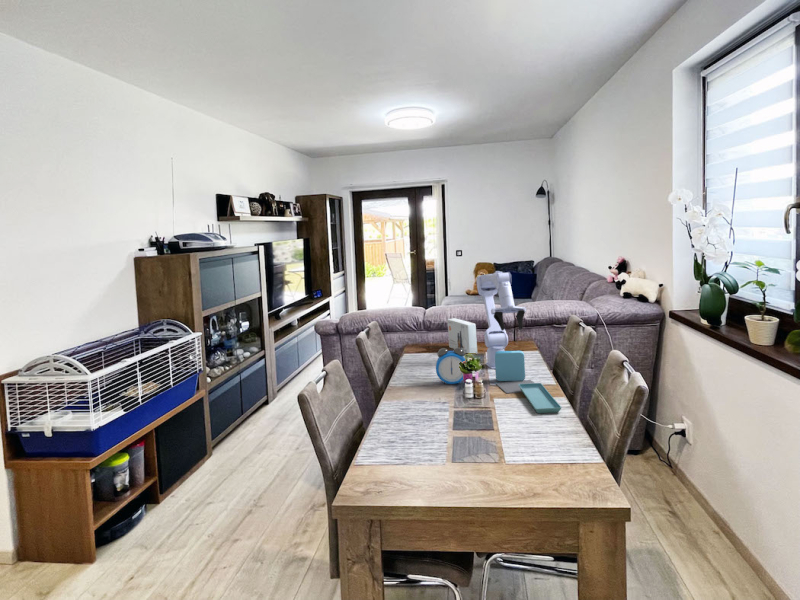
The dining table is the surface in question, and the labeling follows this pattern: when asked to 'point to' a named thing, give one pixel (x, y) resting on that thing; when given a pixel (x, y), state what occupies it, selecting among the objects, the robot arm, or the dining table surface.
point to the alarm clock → (450, 365)
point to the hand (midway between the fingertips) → (512, 329)
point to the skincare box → (462, 335)
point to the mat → (512, 386)
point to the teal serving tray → (540, 398)
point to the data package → (510, 366)
